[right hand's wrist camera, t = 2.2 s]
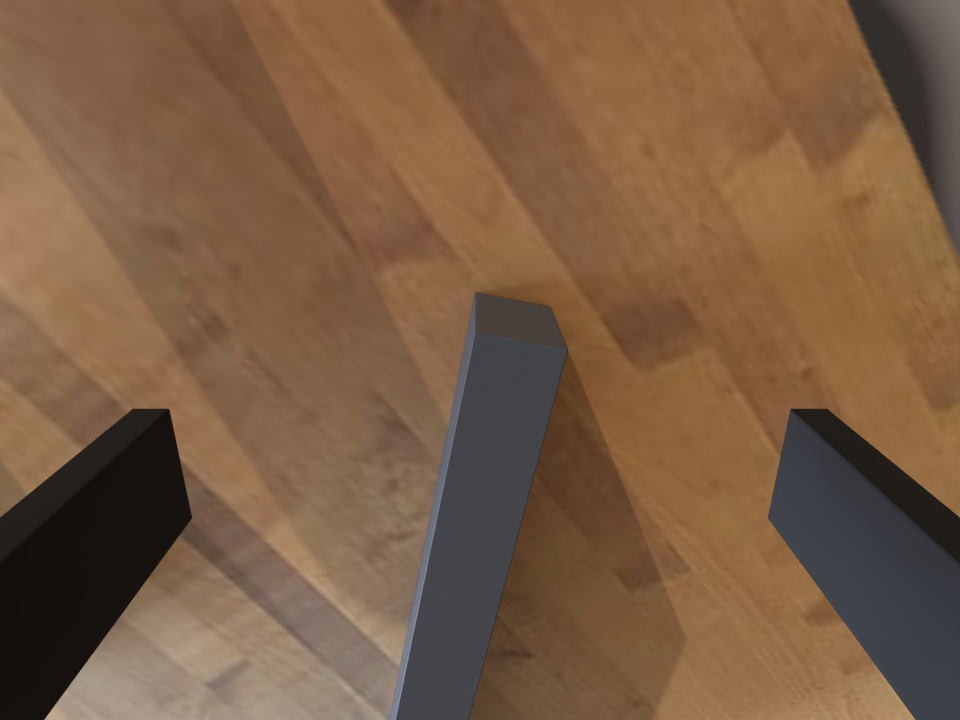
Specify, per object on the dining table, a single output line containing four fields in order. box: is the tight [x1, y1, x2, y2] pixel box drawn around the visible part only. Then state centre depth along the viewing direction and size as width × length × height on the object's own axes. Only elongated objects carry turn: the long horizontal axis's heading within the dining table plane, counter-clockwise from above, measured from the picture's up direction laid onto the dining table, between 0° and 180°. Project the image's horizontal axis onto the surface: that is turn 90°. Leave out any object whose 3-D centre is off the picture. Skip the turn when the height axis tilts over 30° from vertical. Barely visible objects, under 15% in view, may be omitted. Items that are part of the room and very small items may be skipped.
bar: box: [389, 293, 568, 720], centre depth 44 cm, size 51×5×8 cm, turn 169°
